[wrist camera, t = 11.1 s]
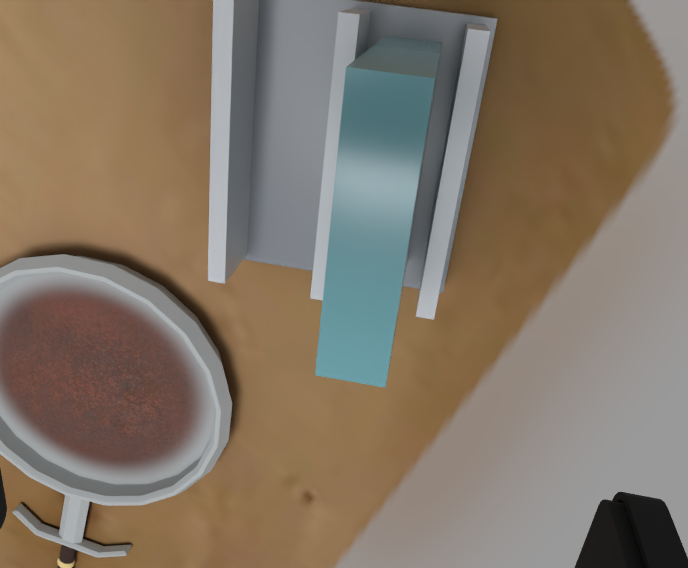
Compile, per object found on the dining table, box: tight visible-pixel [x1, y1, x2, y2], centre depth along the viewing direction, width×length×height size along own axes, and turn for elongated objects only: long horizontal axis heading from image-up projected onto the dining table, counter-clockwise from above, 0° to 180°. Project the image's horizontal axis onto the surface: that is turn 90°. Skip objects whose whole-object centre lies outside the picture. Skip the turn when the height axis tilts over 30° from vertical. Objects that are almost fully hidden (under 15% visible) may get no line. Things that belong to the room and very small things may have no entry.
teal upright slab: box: [315, 36, 443, 387], centre depth 24 cm, size 10×2×11 cm, turn 174°
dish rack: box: [208, 0, 497, 319], centre depth 28 cm, size 13×11×4 cm
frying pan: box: [0, 254, 232, 568], centre depth 41 cm, size 17×3×28 cm
